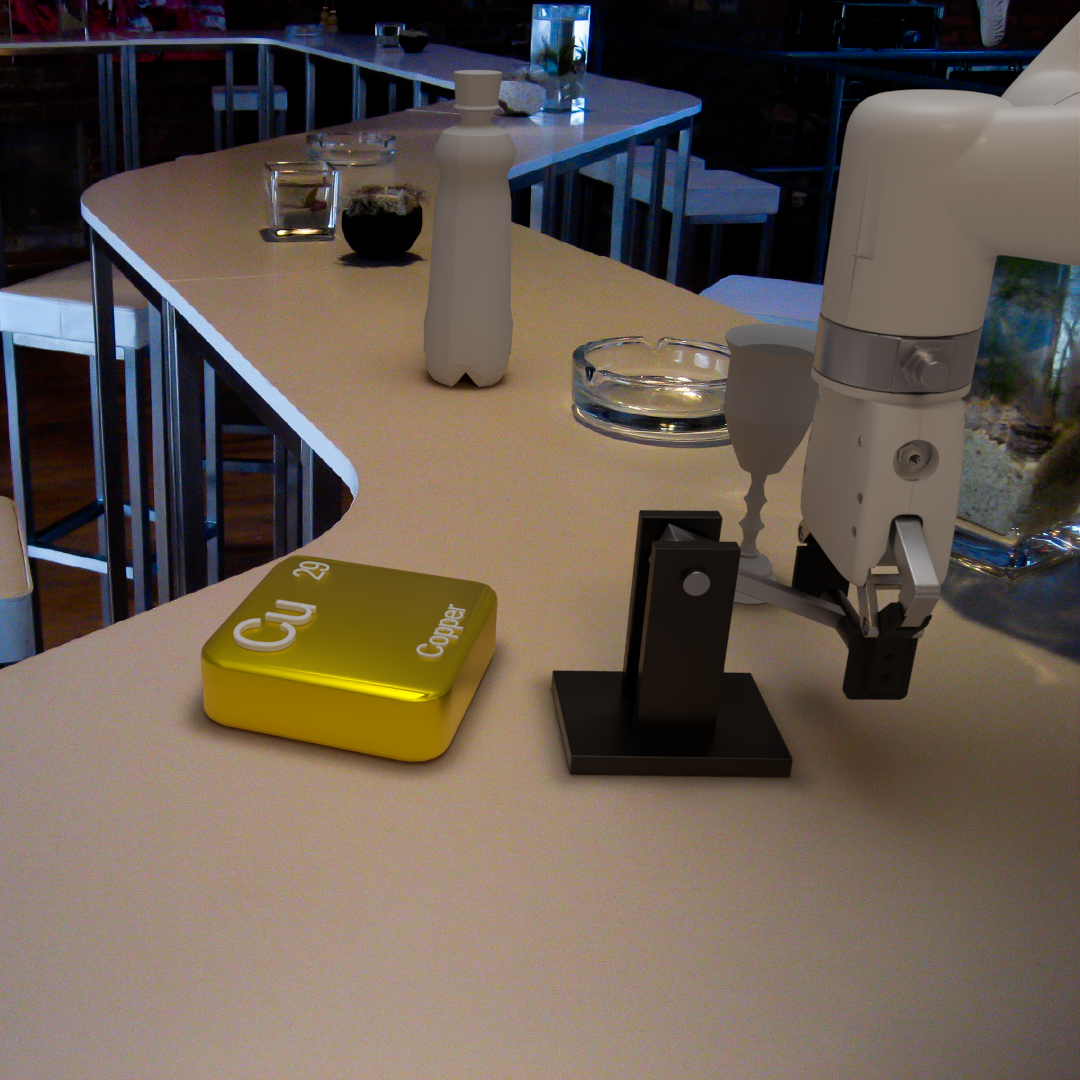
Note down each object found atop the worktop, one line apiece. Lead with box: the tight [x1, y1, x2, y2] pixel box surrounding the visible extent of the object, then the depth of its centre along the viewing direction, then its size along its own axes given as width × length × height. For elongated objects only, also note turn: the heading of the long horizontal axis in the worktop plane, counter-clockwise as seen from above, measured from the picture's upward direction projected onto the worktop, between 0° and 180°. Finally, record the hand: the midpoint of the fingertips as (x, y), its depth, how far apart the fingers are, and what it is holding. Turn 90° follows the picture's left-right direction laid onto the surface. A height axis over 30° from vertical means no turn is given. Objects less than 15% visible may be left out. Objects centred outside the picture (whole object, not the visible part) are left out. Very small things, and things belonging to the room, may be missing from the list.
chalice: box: [723, 323, 820, 605], centre depth 85 cm, size 7×7×18 cm
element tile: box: [200, 554, 498, 763], centre depth 77 cm, size 15×15×5 cm
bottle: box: [423, 69, 517, 388], centre depth 125 cm, size 9×9×30 cm
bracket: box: [551, 509, 794, 778], centre depth 70 cm, size 12×9×13 cm
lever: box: [649, 524, 861, 650], centre depth 69 cm, size 12×5×2 cm, turn 90°
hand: (843, 649), depth 70 cm, fingers open, 9 cm apart
